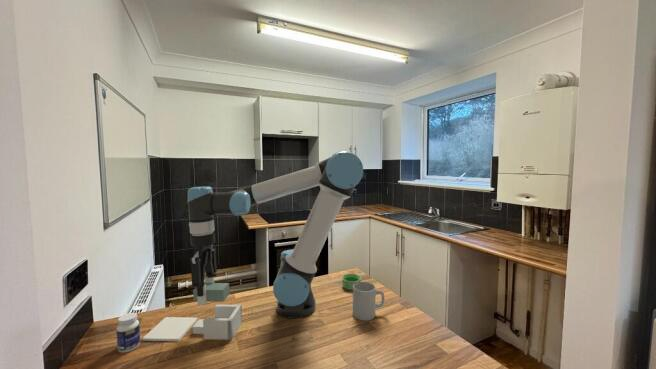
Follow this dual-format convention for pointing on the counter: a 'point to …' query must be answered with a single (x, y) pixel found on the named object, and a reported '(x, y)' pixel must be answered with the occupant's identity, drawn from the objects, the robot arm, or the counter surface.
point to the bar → (214, 292)
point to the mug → (365, 300)
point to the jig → (220, 323)
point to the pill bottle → (128, 333)
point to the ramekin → (350, 280)
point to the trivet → (170, 329)
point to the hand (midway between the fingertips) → (206, 299)
